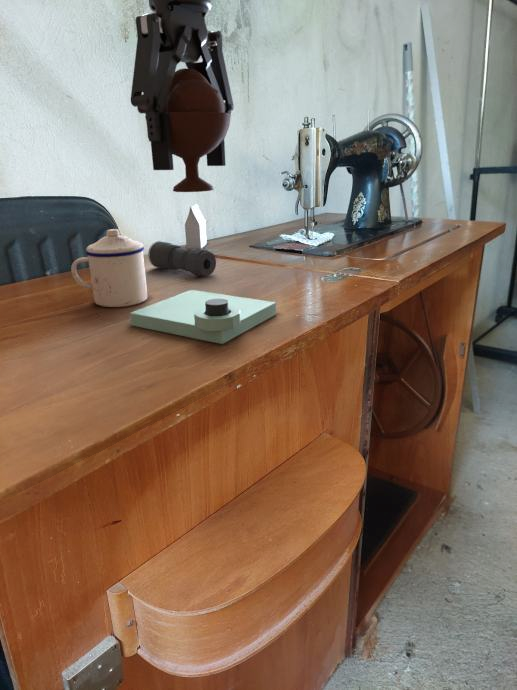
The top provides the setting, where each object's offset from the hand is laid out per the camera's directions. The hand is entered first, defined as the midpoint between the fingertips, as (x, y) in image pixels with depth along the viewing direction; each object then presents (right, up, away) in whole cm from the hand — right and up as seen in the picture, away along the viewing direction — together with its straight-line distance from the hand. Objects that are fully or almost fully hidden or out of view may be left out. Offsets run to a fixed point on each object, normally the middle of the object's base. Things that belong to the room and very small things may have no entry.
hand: (191, 167), depth 70 cm
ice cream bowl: (0, -3, +1) cm, 3 cm away
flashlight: (-7, -9, +35) cm, 37 cm away
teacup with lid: (-15, -17, +17) cm, 28 cm away
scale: (+1, -20, +6) cm, 21 cm away
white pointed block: (-7, +1, +62) cm, 62 cm away
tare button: (+4, -20, -2) cm, 20 cm away
